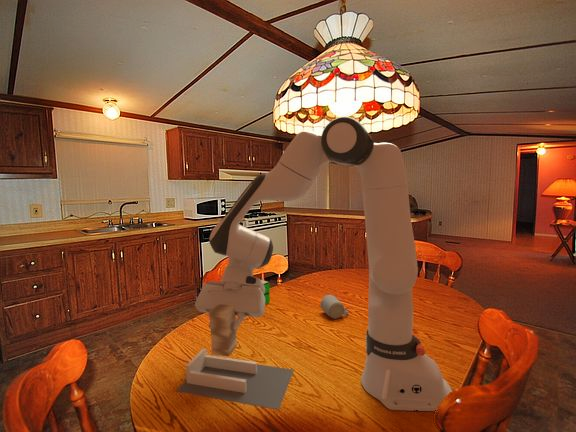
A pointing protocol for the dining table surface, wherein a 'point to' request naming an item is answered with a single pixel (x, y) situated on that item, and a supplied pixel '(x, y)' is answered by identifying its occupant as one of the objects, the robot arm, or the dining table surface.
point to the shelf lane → (236, 380)
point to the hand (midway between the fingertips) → (222, 329)
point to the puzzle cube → (266, 291)
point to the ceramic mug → (333, 307)
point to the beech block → (222, 330)
